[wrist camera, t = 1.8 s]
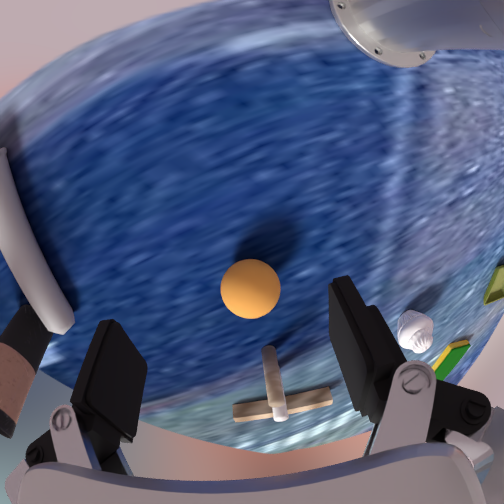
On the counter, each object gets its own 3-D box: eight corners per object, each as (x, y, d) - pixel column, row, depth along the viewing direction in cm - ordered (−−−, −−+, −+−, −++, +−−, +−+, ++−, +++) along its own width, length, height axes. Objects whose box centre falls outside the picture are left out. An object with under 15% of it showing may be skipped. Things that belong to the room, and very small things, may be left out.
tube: (79, 336, 30) (-6, 150, 17) (49, 345, 28) (-38, 172, 15) (82, 311, 34) (12, 144, 21) (55, 320, 33) (-18, 162, 19)
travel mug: (59, 343, 36) (20, 445, 18) (25, 330, 34) (-18, 423, 17) (49, 310, 32) (-5, 422, 15) (13, 297, 30) (-44, 396, 13)
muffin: (382, 329, 38) (400, 363, 32) (404, 299, 36) (427, 333, 30) (407, 332, 40) (425, 363, 34) (428, 304, 37) (450, 335, 31)
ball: (271, 242, 29) (280, 276, 24) (279, 287, 32) (288, 323, 27) (214, 254, 29) (212, 290, 24) (228, 297, 32) (229, 335, 27)
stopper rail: (328, 386, 45) (332, 399, 43) (328, 391, 46) (332, 404, 44) (232, 404, 46) (233, 418, 43) (235, 409, 47) (235, 422, 44)
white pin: (278, 363, 40) (287, 414, 32) (280, 370, 41) (289, 419, 33) (265, 366, 40) (273, 417, 32) (267, 373, 41) (274, 422, 33)
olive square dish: (500, 291, 40) (505, 297, 38) (477, 299, 39) (483, 306, 38) (514, 256, 35) (521, 261, 33) (493, 262, 35) (500, 268, 33)
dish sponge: (466, 337, 46) (471, 345, 44) (437, 375, 53) (441, 382, 51) (448, 342, 45) (453, 350, 43) (418, 381, 52) (422, 388, 50)
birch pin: (274, 344, 37) (284, 398, 30) (276, 352, 38) (285, 405, 31) (260, 347, 37) (267, 401, 30) (262, 355, 39) (269, 408, 31)
